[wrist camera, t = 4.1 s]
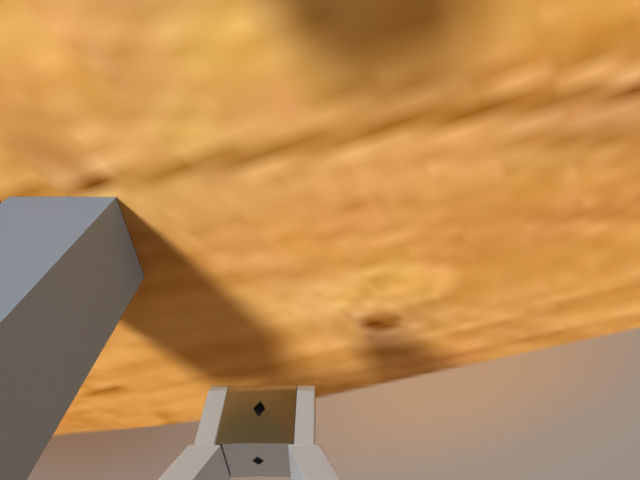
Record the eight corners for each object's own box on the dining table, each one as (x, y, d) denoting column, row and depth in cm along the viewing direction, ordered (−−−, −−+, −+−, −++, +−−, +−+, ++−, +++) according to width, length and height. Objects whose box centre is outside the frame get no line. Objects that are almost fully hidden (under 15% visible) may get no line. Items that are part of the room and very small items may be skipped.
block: (116, 197, 16) (-102, 433, 8) (144, 277, 18) (5, 517, 10) (9, 196, 16) (-324, 432, 8) (53, 276, 18) (-160, 517, 10)
